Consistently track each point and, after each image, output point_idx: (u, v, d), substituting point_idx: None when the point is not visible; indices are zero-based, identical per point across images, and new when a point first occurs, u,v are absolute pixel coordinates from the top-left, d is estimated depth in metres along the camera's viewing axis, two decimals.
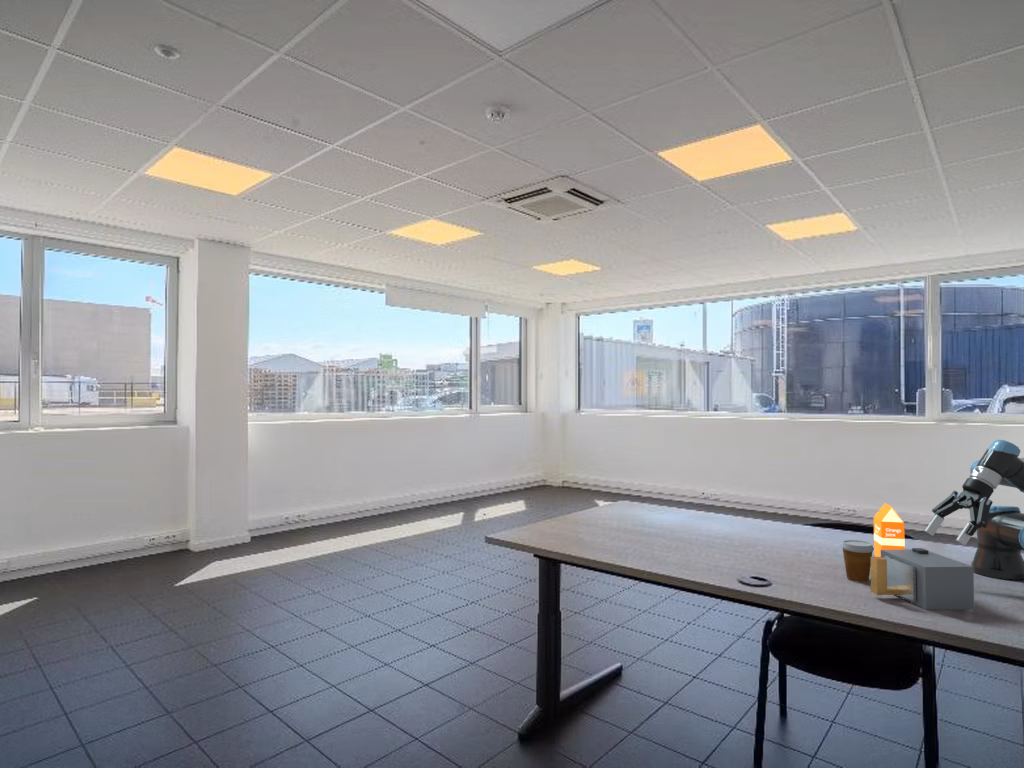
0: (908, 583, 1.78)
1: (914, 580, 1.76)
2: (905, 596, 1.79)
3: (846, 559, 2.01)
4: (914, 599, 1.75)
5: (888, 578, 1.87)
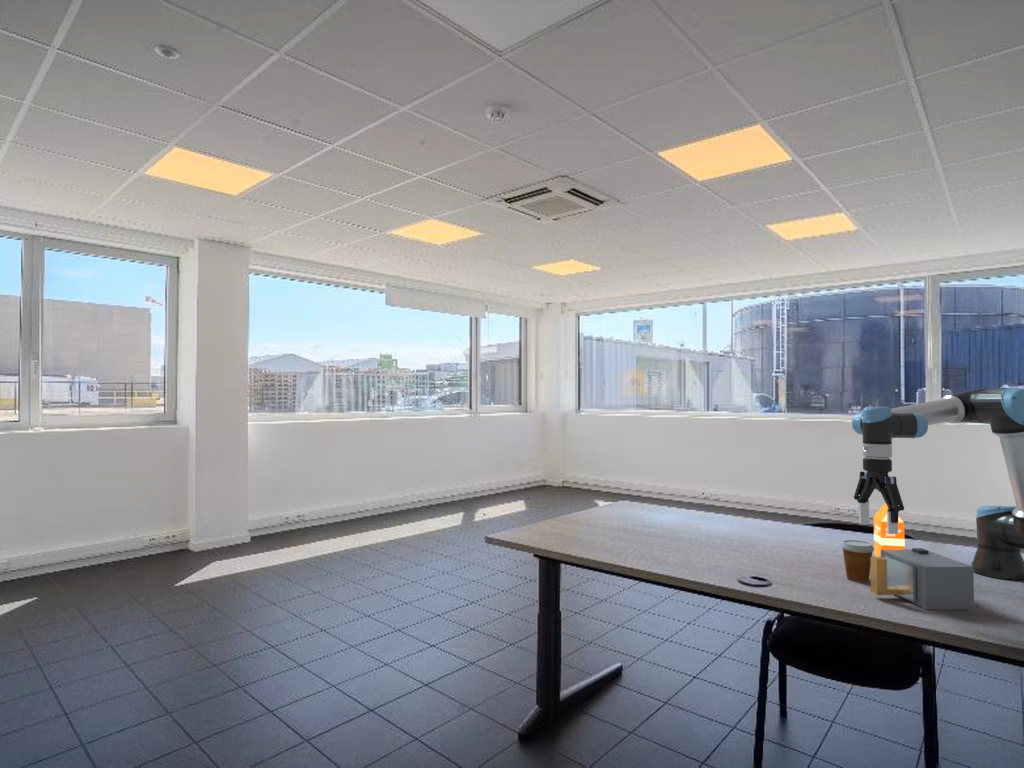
0: (908, 583, 1.78)
1: (914, 580, 1.76)
2: (905, 596, 1.79)
3: (846, 559, 2.01)
4: (914, 599, 1.75)
5: (888, 578, 1.87)
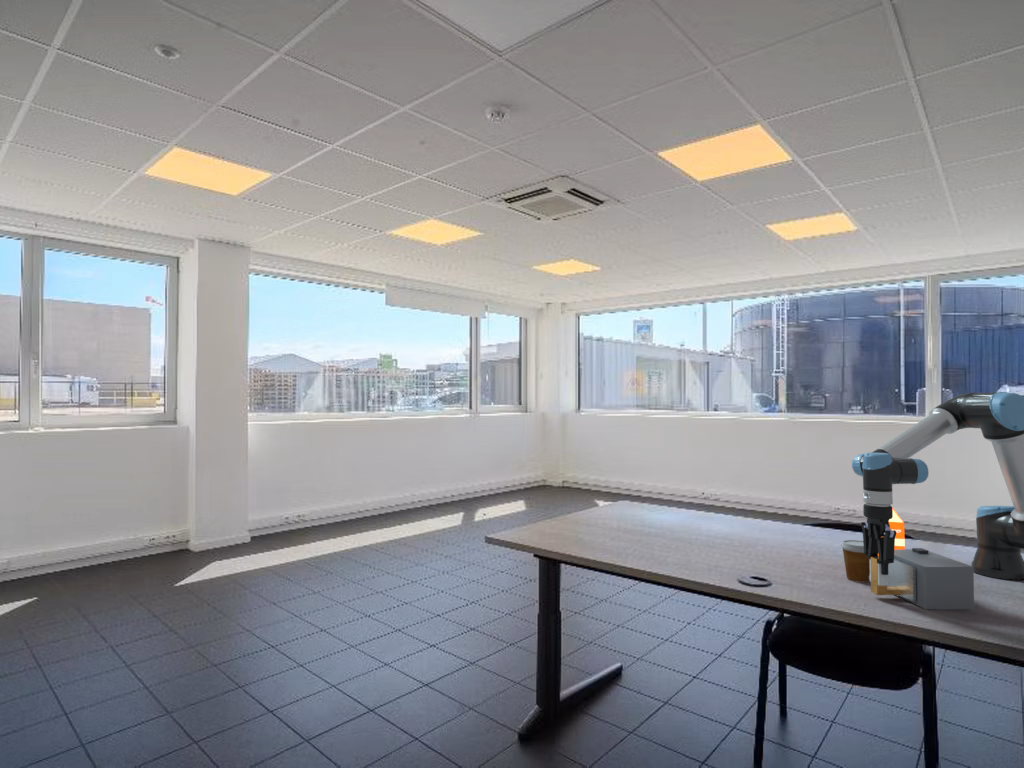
0: (908, 583, 1.78)
1: (914, 580, 1.76)
2: (905, 596, 1.79)
3: (846, 559, 2.01)
4: (914, 599, 1.75)
5: (888, 578, 1.87)
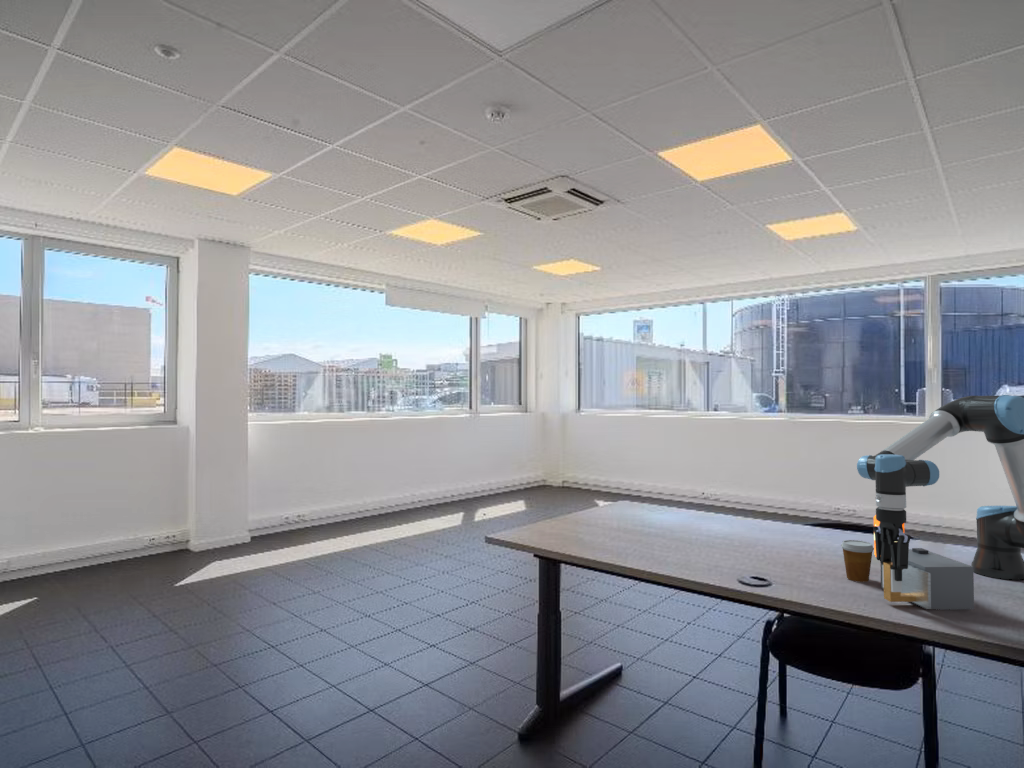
0: (923, 590, 1.71)
1: (929, 586, 1.70)
2: (919, 603, 1.73)
3: (846, 559, 2.01)
4: (929, 606, 1.69)
5: None
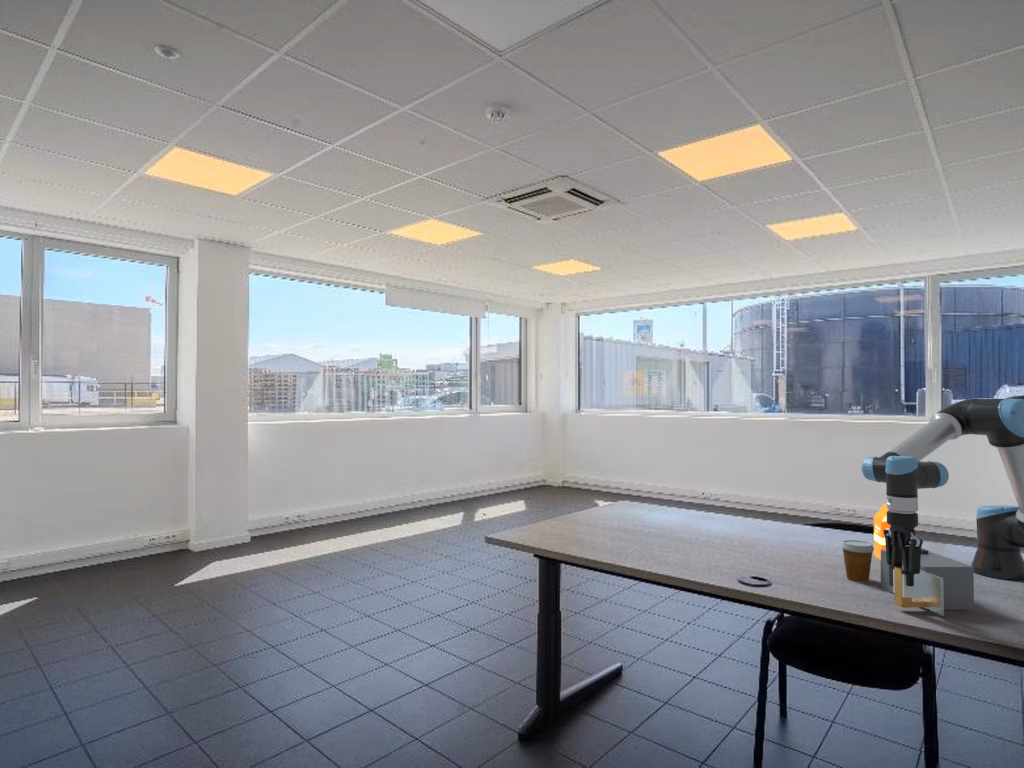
0: (935, 595, 1.67)
1: (942, 592, 1.65)
2: (932, 609, 1.68)
3: (846, 559, 2.01)
4: (942, 612, 1.65)
5: None
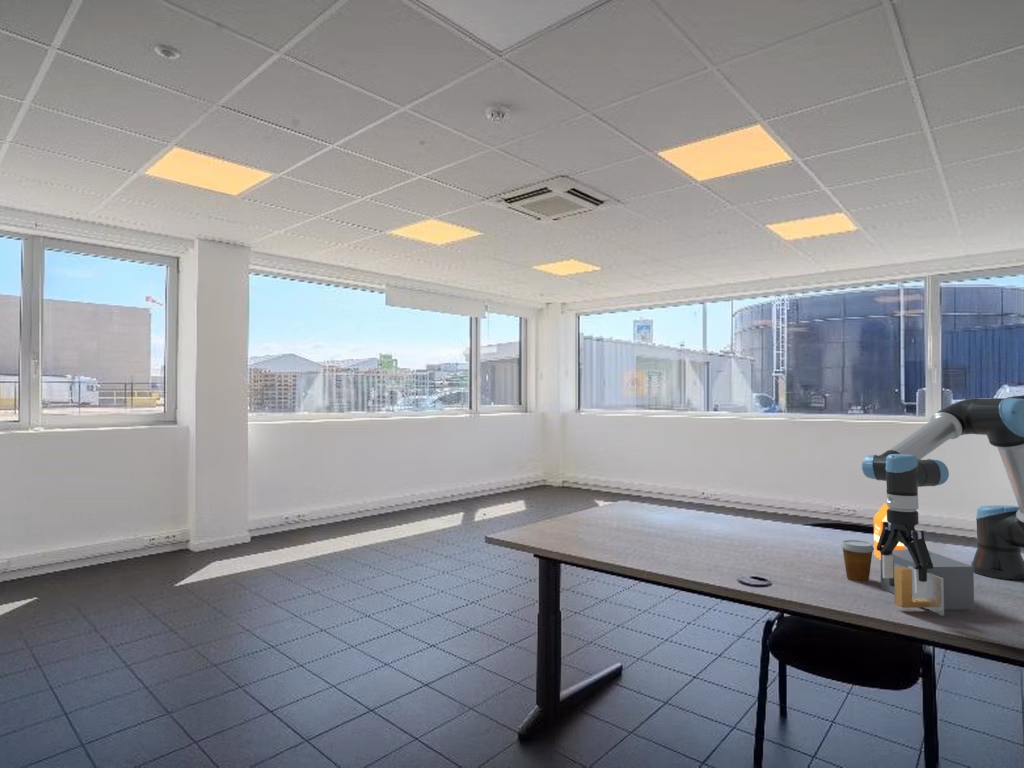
0: (935, 595, 1.67)
1: (942, 592, 1.65)
2: (932, 609, 1.68)
3: (846, 559, 2.01)
4: (942, 612, 1.65)
5: (913, 589, 1.76)
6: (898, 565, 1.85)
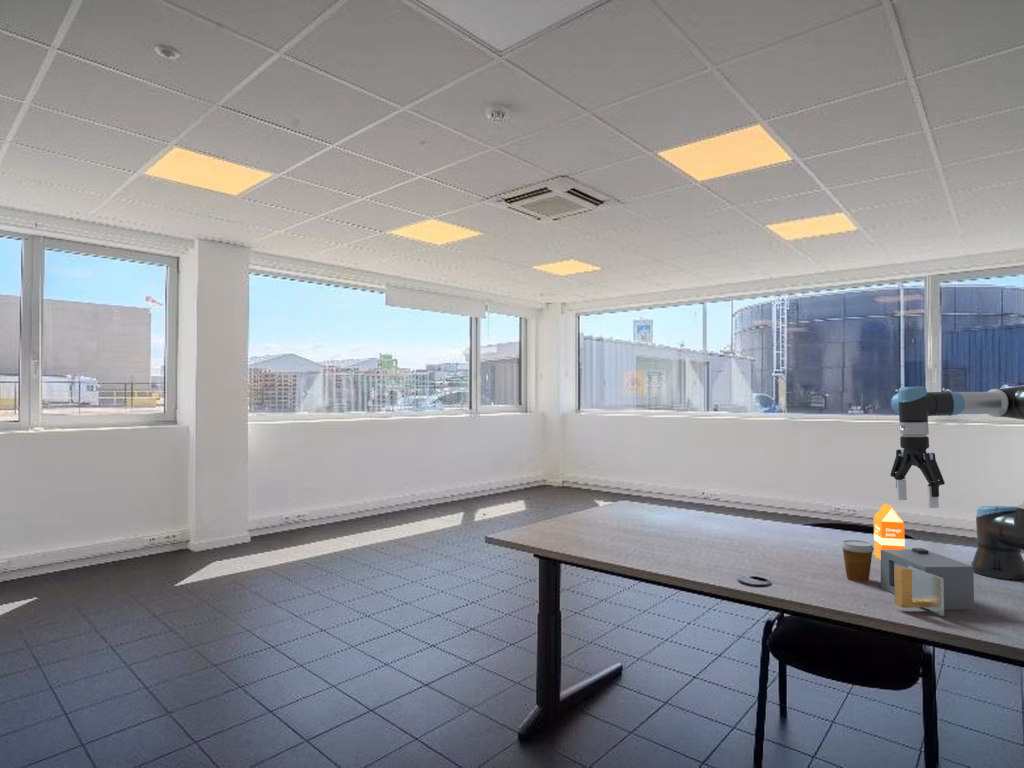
0: (935, 595, 1.67)
1: (942, 592, 1.65)
2: (932, 609, 1.68)
3: (846, 559, 2.01)
4: (942, 612, 1.65)
5: (913, 589, 1.76)
6: (898, 565, 1.85)
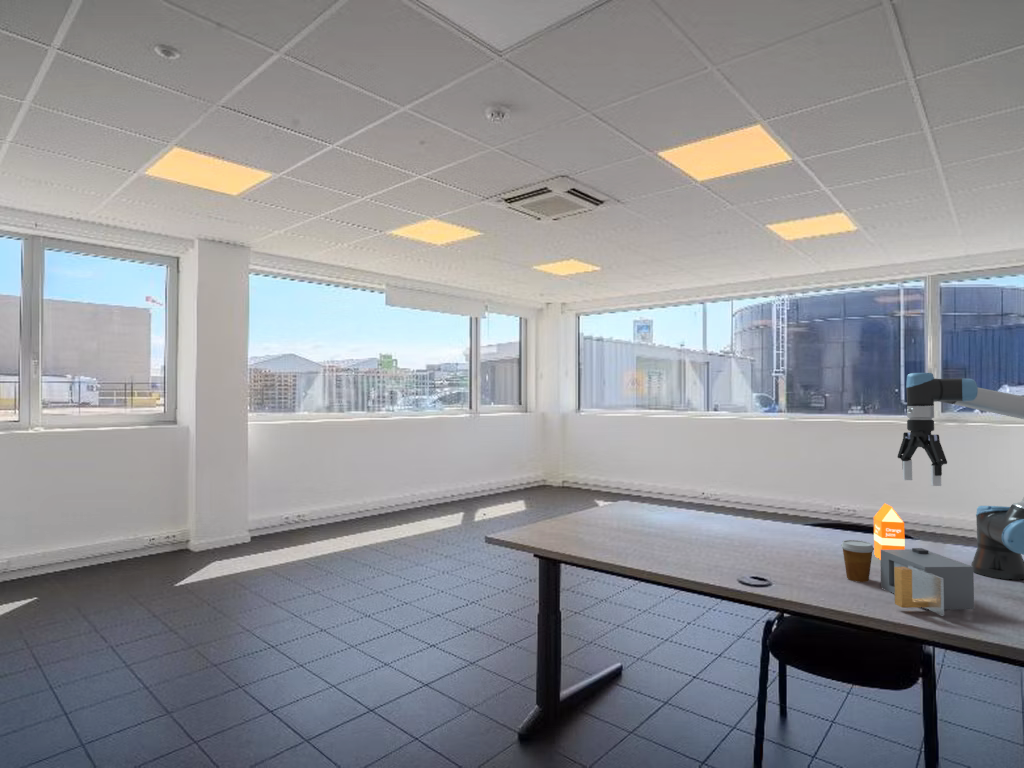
0: (935, 595, 1.67)
1: (942, 592, 1.65)
2: (932, 609, 1.68)
3: (846, 559, 2.01)
4: (942, 612, 1.65)
5: (913, 589, 1.76)
6: (898, 565, 1.85)
